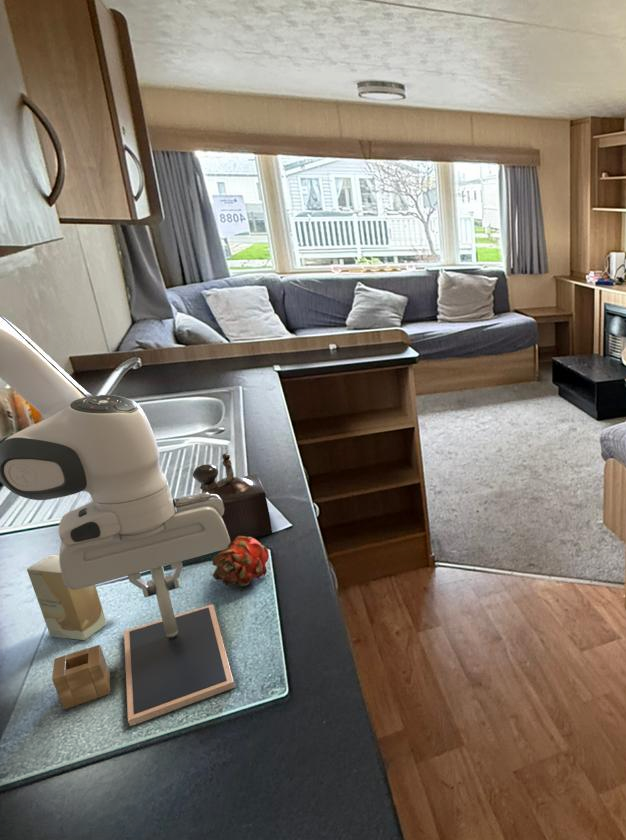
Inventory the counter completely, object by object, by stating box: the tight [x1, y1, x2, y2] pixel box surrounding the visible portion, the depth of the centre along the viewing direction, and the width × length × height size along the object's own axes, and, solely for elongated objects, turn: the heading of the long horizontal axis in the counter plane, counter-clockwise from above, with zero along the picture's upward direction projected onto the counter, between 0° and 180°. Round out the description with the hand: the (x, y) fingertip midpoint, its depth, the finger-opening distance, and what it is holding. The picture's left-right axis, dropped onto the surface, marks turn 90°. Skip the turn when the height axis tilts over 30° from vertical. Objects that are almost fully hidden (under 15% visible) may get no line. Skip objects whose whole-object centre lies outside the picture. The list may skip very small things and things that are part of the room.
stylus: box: [149, 566, 178, 637], centre depth 96 cm, size 2×2×15 cm
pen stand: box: [51, 644, 111, 710], centre depth 88 cm, size 5×5×5 cm
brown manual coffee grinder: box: [192, 452, 273, 542], centre depth 124 cm, size 16×11×18 cm
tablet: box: [123, 603, 236, 727], centre depth 94 cm, size 12×22×1 cm, turn 35°
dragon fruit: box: [211, 536, 270, 587], centre depth 113 cm, size 8×8×12 cm
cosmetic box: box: [26, 554, 108, 641], centre depth 98 cm, size 6×4×12 cm
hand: (162, 591), depth 97 cm, fingers closed on stylus, 1 cm apart
